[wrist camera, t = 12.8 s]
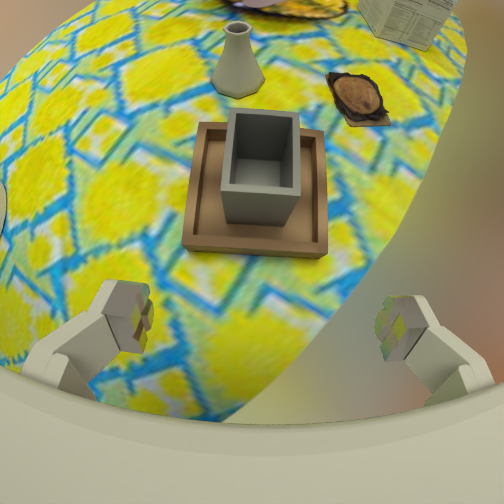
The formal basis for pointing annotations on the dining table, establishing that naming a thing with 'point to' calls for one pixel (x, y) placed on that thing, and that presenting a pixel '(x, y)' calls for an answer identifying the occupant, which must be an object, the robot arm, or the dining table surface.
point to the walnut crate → (255, 236)
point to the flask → (237, 63)
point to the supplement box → (407, 19)
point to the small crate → (261, 167)
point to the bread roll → (358, 99)
